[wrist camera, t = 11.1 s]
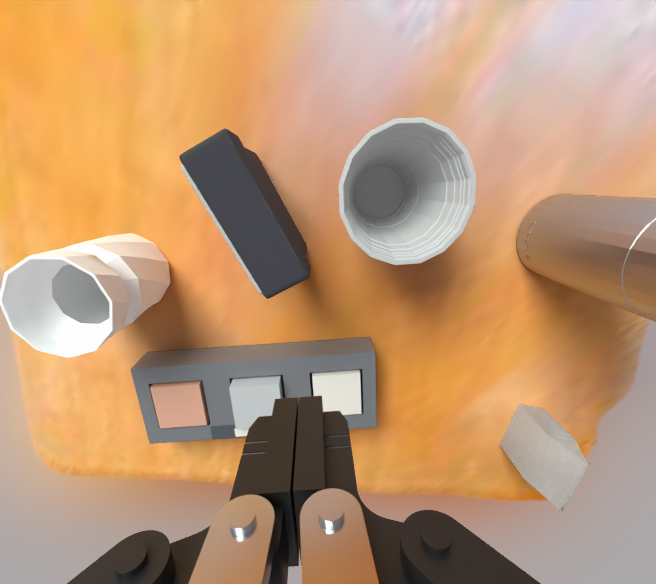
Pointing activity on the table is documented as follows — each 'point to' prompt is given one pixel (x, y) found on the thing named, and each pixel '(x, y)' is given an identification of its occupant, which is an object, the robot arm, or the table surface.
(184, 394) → the terracotta key
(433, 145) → the plastic cup
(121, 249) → the vase
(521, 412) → the pale grey block
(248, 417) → the grey key
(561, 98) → the table surface
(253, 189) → the red and grey box
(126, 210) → the table surface
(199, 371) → the keypad housing
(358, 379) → the cream key
